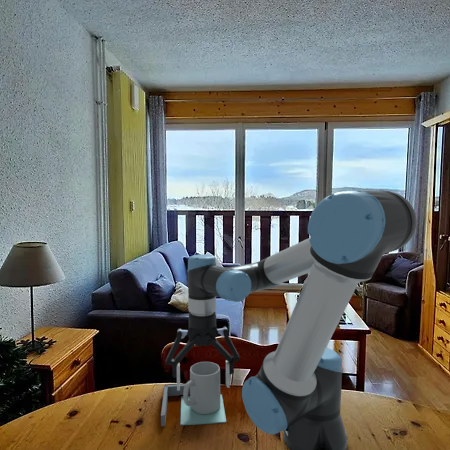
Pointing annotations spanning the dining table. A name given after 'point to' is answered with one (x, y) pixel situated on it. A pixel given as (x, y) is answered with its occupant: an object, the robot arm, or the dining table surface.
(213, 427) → the dining table surface
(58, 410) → the dining table surface
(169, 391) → the gray corner wall
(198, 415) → the mat
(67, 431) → the dining table surface
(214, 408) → the mug
